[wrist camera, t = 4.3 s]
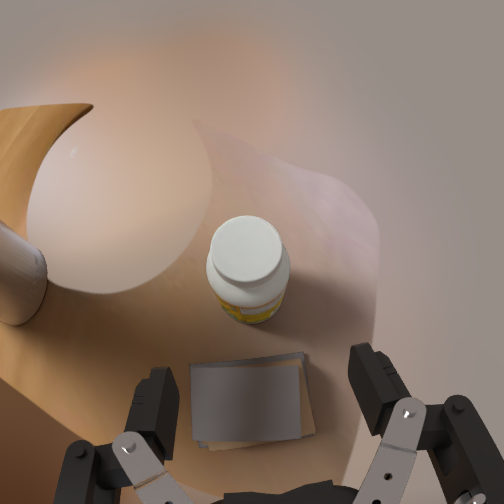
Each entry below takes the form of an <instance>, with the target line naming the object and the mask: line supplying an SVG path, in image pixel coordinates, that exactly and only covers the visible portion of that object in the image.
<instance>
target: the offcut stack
mask: <svg viewBox="0 0 504 504" xmlns="http://www.w3.org/2000/svg"><path fill="white" fill-rule="evenodd" d="M189 366H190V376H191V415H192V440H196V441H198V442H199V448H206V447H208V448H209V451H218V450H227V449H234V448H241V447H248V446H254V445H260V444H266V443H271V442H277V441H284V440H291V439H301V438H303V437H309V436H314V433H316V431H315V426H314V421H313V416H312V411H311V405H310V398H309V390H308V383H307V375H306V368H305V361H304V354H303V352H298V353H292V354H285V355H278V356H270V357H262V358H254V359H245V360H235V361H225V362H214V363H201V364H189Z"/></svg>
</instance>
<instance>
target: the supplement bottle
mask: <svg viewBox="0 0 504 504" xmlns="http://www.w3.org/2000/svg"><path fill="white" fill-rule="evenodd" d="M206 270H207V277H208V280H209V283H210V285H211V287H212V289H213V291H214V293H215V294H216V296H217V298H218V300H219V302H220V304H221V306H222V308H223V309H224V310H225V312H226V313H227V314H228V315H230V316H231V317H232V318H234V319H235V320H237V321H239V322H242V323H247V324H254V323H260V322H263V321H265V320H267V319H269V318H270V317H271V316H273V315H274V314H275V313H276V312H277V310H278V309H279V307H280V305H281V303H282V300H283V297H284V294H285V290H286V287H287V283H288V280H289V275H290V259H289V255H288V252H287V250H286V248H285V246H284V245H283V243H282V241H281V238H280V235H279V233H278V232H277V230H276V229H275V228H274V227H273V226H272V225H271V224H270V223H269V222H267V221H265V220H264V219H261V218H259V217H255V216H239V217H235V218H232V219H230V220H228V221H227V222H225V223H224V224H222V225H221V226H220V227H219V228H218V229H217V231H216V232H215V234H214V236H213V238H212V241H211V246H210V252H209V254H208V258H207V264H206Z"/></svg>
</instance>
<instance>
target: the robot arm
mask: <svg viewBox="0 0 504 504" xmlns="http://www.w3.org/2000/svg"><path fill="white" fill-rule="evenodd" d="M46 285H47V265H46V261H45V259H44V256H43V255H42V253H41V251H40V250H38V249H37V248H36V247H35V246H34V245H32V244H31V243H30V242H28V241H27V240H25V239H24V238H23V237H21V236H20V235H19V234H18V233H16V232H15V231H14V230H13V229H11V228H10V227H9V226H7V225H6V224H5V223H4V222H2V221H1V220H0V321H1V322H4V323H7V324H10V325H20V324H23V323H25V322H26V321H28V320H29V319H30V318H31V317H32V316H33V315H34V314H35V312H36V311H37V310H38V308H39V306H40V304H41V302H42V300H43V297H44V294H45V291H46ZM348 378H349V382H350V384H351V387H352V389H353V391H354V394H355V396H356V398H357V401H358V403H359V406H360V408H361V411H362V413H363V415H364V418H365V420H366V423H367V425H368V428H369V430H370V433H371V435H372V436H375V435H378V434H380V436H381V438H382V440H381V443H380V445H379V448H378V450H377V452H376V455H375V457H374V459H373V462H372V464H371V466H370V468H369V470H368V473H367V475H366V477H365V479H364V481H363V483H362V485H361V487H360V489H359V490H357V489H354V488H351V487H346V486H339V485H333V482H332V480H327V481H323V482H318V483H312V484H307V485H304V486H301V487H299V488H296V489H294V490H291V491H288V492H285V493H283V494H278V495H276V494H265V493H256V492H240V493H224V499H223V500H219V501H217V502H214V503H212V504H399V503H400V500H401V498H402V495H403V493H404V490H405V487H406V485H407V482H408V479H409V476H410V474H411V471H412V468H413V465H414V462H415V459H416V455H417V452H416V450H427V452H428V454H429V457H430V459H431V462H432V464H433V467H434V469H435V471H436V474H437V477H438V480H439V482H440V485H441V487H442V490H443V493H444V496H445V498H446V501H447V504H504V460H503V458H502V456H501V454H500V452H499V450H498V448H497V447H496V445H495V443H494V441H493V439H492V437H491V436H490V434H489V432H488V430H487V428H486V427H485V425H484V423H483V421H482V419H481V418H480V416H479V414H478V412H477V411H476V409H475V407H474V406H473V404H472V402H471V401H470V400H469V399H468V398H467V397H465V396H462V395H453V396H450V397H449V398H448V399H447V400H446V401H445V403H444V404H438V405H424V403H423V402H422V401H420V400H419V399H416V398H412V396H411V395H410V393H409V391H408V390H407V388H406V386H405V385H404V383H403V381H402V380H401V378H400V376H399V374H397V371H396V369H395V368H394V367H393V364H392V363H391V361H390V359H389V358H388V357H387V356H386V355H385V354H383V353H382V352H381V351H378V352H374V351H373V349H372V348H371V346H370V344H369V343H362V344H357V345H352V346H351V349H350V357H349V365H348ZM178 409H179V391H178V388H177V385H176V382H175V380H174V377H173V374H172V371H171V369H170V367H153V368H152V370H151V374H150V377H149V379H142V380H141V382H140V383H139V384H138V385H137V387H136V390H135V393H134V398H133V400H132V405H131V408H130V411H129V415H128V419H127V423H126V426H125V430H124V433H121V434H120V435H118V436H117V437H116V438H115V439H114V441H113V443H110V444H105V445H100V446H93V445H92V444H91V443H90V442H88V441H85V440H78V441H75V442H73V443H72V444H71V445H70V446H69V447H68V448H67V451H66V454H65V457H64V461H63V465H62V469H61V473H60V476H59V480H58V485H57V489H56V493H55V498H54V502H53V504H119V503H120V495H121V487H127V486H132V485H134V490H135V492H136V493H137V495H138V496H139V498H140V499H141V501H142V502H143V504H194V503H193V502H192V500H191V499H190V498H189V497H188V496H187V495H186V493H185V492H184V491H183V490H182V489H181V487H180V486H179V485H178V484H177V483H176V481H175V480H174V479H173V478H172V476H171V475H170V474H169V472H168V471H167V470H166V469H165V468H164V460H172V459H173V450H174V441H175V433H176V425H177V417H178Z"/></svg>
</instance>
